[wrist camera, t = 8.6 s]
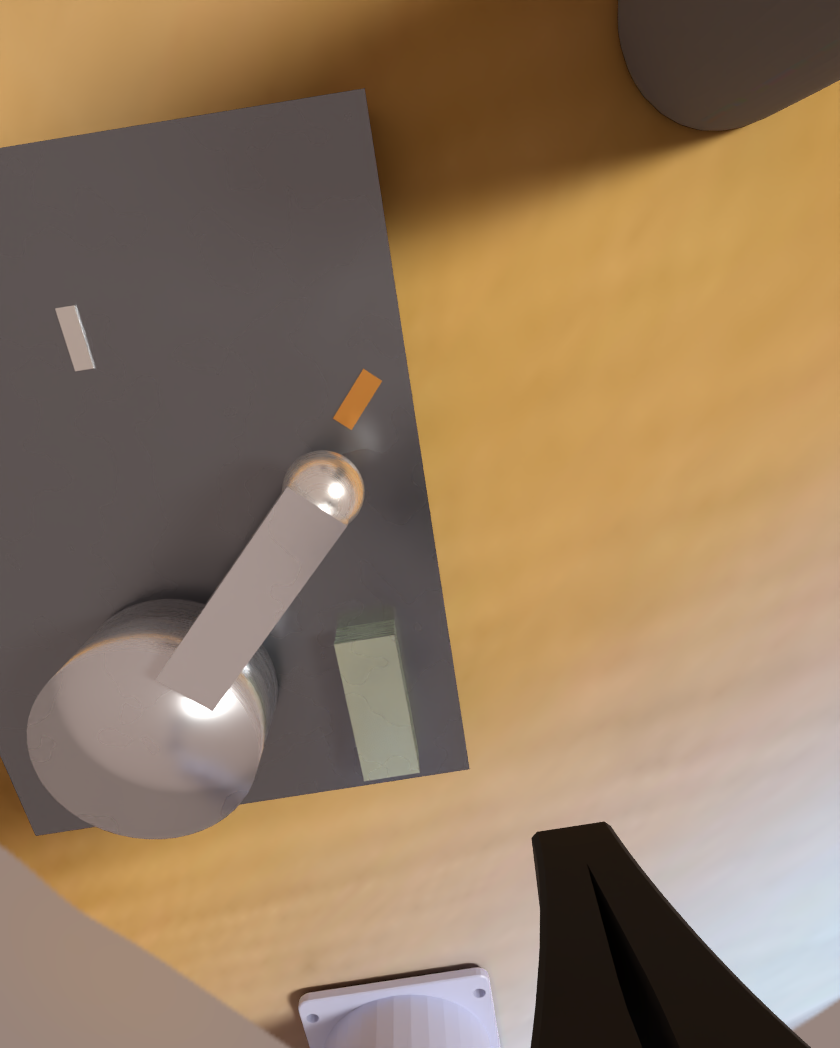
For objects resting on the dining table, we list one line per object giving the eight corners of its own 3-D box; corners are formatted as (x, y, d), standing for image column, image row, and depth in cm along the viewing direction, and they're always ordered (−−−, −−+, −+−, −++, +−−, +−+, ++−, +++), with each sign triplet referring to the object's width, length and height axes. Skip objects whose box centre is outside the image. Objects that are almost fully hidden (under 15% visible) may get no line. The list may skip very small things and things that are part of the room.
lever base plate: (464, 740, 23) (472, 790, 20) (57, 803, 23) (19, 859, 21) (367, 108, 16) (362, 73, 14) (-195, 199, 17) (-293, 180, 14)
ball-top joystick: (215, 795, 21) (181, 889, 17) (46, 708, 20) (-27, 790, 16) (439, 500, 18) (450, 544, 15) (258, 375, 17) (224, 391, 13)
